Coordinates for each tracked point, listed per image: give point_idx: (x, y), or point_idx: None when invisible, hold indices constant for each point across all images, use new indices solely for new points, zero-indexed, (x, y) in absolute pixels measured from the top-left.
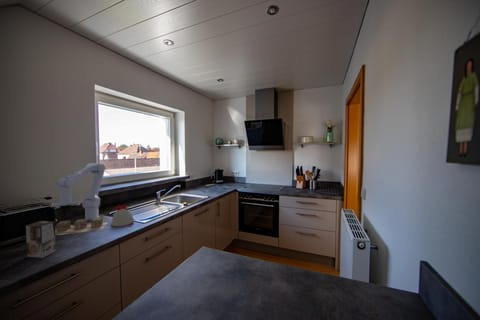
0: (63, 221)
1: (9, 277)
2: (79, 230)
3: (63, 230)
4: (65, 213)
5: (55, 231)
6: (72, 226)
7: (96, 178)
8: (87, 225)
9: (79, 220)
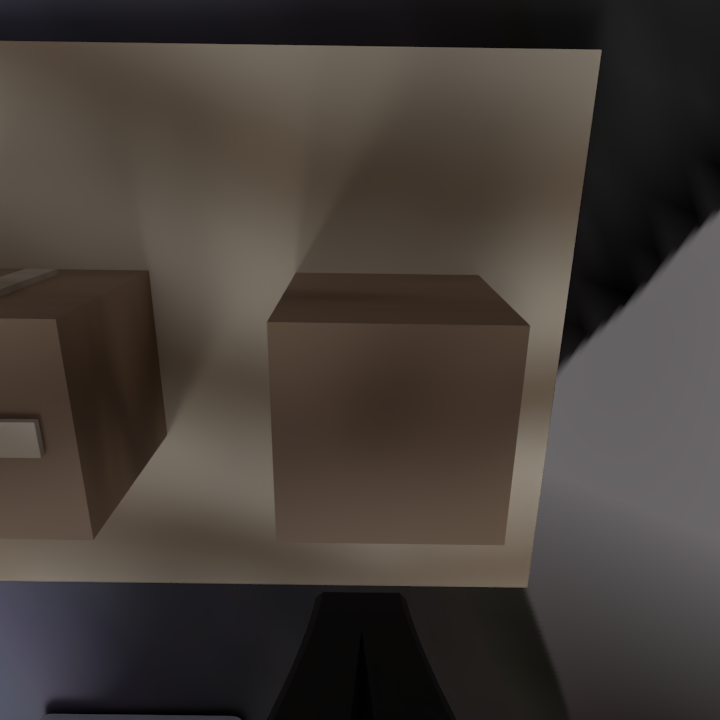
0: (428, 525)
1: None
2: (14, 197)
3: (351, 277)
4: (337, 713)
5: None
6: None
7: None
8: None
9: (8, 472)
